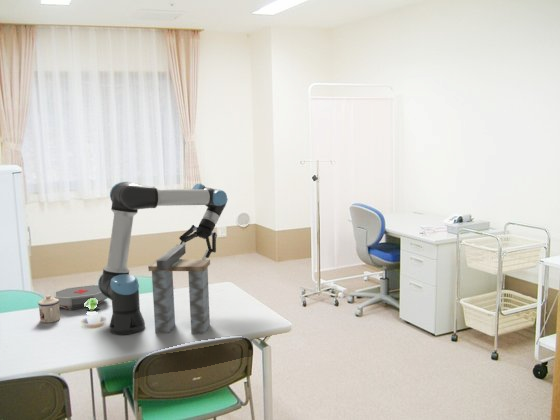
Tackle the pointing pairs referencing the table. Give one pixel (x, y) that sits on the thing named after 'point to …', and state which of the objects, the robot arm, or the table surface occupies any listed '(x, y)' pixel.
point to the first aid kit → (78, 296)
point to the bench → (165, 295)
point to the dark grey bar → (170, 257)
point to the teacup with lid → (49, 309)
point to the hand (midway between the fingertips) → (190, 258)
